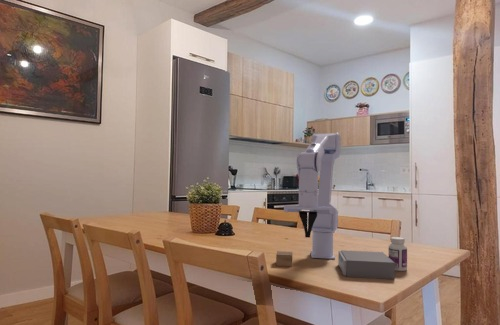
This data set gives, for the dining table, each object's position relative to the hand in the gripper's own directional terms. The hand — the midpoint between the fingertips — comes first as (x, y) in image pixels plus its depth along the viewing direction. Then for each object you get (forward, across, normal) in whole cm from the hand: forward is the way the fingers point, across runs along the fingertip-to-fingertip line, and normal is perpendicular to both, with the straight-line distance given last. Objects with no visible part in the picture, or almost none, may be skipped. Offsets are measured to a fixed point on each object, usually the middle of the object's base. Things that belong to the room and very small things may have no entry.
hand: (307, 236), depth 111 cm
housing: (+10, +18, +2) cm, 20 cm away
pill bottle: (+10, +28, +7) cm, 31 cm away
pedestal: (+10, -7, +6) cm, 14 cm away
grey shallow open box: (+10, +18, +2) cm, 20 cm away
